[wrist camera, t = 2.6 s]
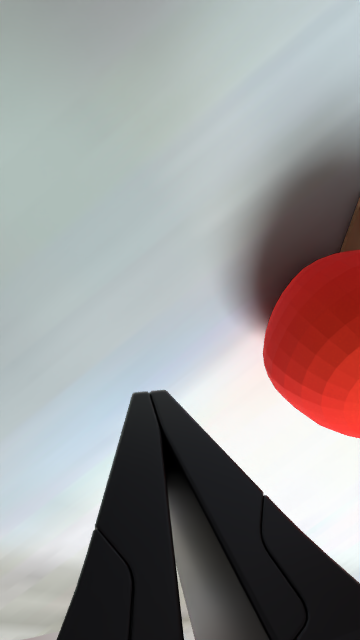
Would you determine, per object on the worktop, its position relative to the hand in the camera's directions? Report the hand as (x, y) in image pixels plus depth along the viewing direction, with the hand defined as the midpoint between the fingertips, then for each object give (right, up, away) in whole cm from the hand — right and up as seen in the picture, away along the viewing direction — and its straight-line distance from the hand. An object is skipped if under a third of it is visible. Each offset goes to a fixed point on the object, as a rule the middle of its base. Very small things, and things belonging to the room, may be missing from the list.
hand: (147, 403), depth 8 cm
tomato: (+11, +3, +16) cm, 20 cm away
